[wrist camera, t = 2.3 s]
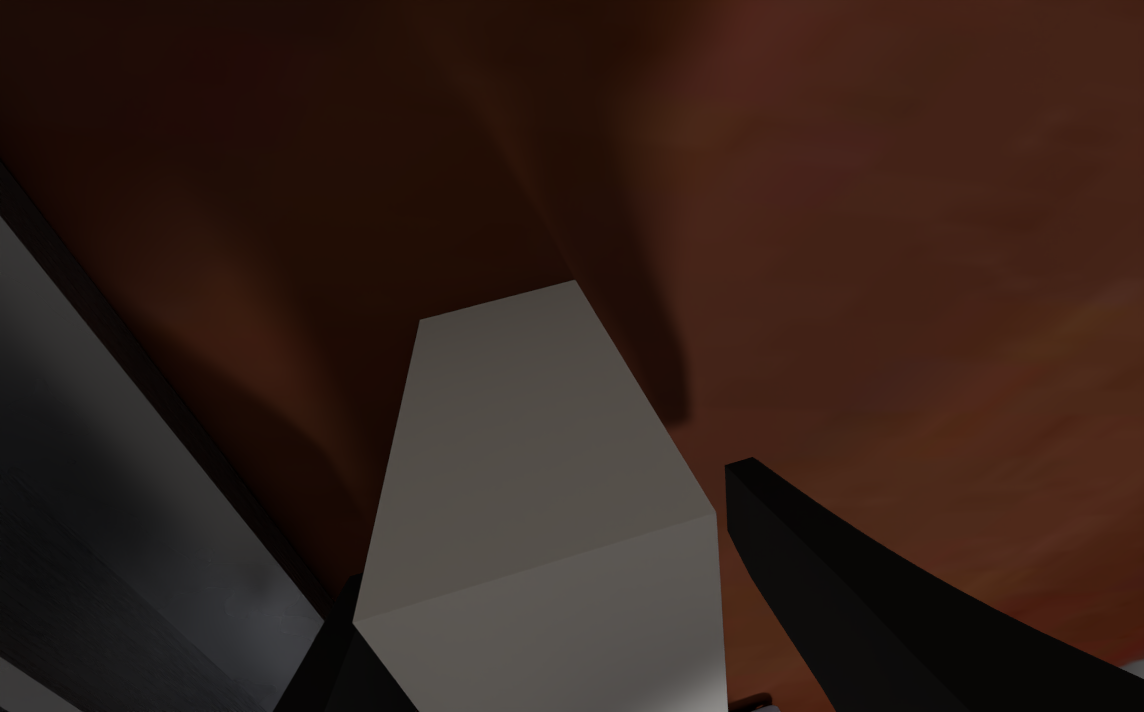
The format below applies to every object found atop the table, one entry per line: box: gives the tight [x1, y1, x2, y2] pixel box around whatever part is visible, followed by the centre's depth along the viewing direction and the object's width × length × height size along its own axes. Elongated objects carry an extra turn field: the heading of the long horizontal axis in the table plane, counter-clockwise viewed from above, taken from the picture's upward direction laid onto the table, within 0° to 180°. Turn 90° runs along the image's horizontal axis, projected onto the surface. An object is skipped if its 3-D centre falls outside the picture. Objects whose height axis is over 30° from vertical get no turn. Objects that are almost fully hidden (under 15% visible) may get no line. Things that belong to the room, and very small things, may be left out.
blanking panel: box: [353, 280, 728, 712], centre depth 9 cm, size 10×3×6 cm, turn 11°
